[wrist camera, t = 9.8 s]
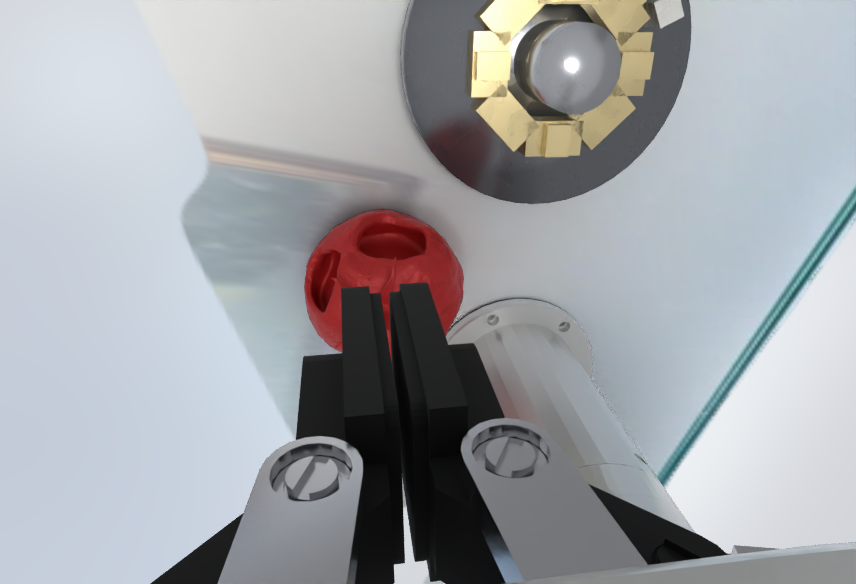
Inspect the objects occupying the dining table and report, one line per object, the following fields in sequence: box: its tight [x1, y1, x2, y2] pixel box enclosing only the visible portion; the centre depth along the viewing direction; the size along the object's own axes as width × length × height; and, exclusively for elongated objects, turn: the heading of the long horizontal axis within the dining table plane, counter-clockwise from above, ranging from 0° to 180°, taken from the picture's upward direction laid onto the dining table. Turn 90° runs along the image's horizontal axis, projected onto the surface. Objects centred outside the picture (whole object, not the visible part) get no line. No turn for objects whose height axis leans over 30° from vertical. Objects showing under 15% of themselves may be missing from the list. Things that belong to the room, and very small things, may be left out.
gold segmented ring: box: [466, 0, 654, 157], centre depth 31 cm, size 15×10×6 cm, turn 134°
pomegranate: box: [304, 209, 464, 362], centre depth 36 cm, size 10×10×9 cm
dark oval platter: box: [400, 0, 691, 204], centre depth 33 cm, size 17×17×6 cm
